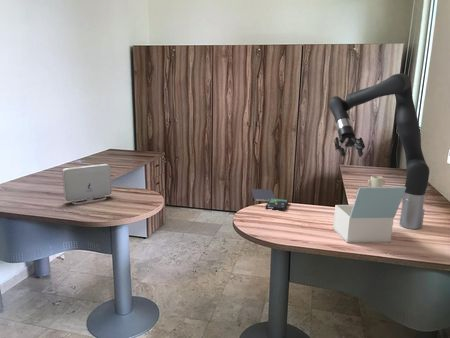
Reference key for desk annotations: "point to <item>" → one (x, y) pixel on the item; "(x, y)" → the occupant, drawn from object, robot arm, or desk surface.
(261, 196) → the notebook
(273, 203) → the disk drive
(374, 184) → the character mug
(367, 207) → the lid flap
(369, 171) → the desk surface
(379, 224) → the carton
